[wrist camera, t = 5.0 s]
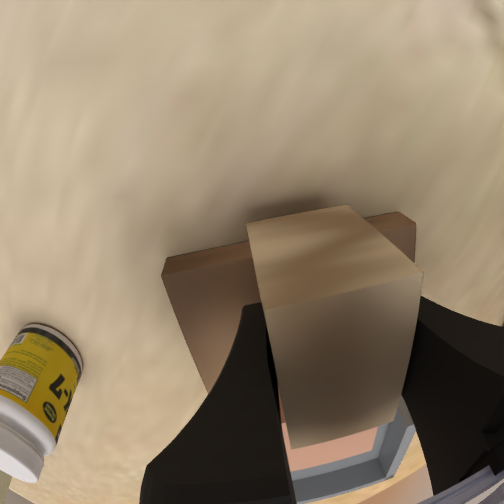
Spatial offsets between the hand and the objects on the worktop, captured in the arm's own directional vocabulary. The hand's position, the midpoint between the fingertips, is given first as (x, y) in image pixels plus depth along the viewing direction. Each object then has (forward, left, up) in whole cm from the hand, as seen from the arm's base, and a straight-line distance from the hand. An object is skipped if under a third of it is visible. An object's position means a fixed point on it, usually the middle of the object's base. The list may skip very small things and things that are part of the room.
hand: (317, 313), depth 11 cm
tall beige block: (0, 0, -2) cm, 2 cm away
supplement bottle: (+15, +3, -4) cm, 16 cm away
